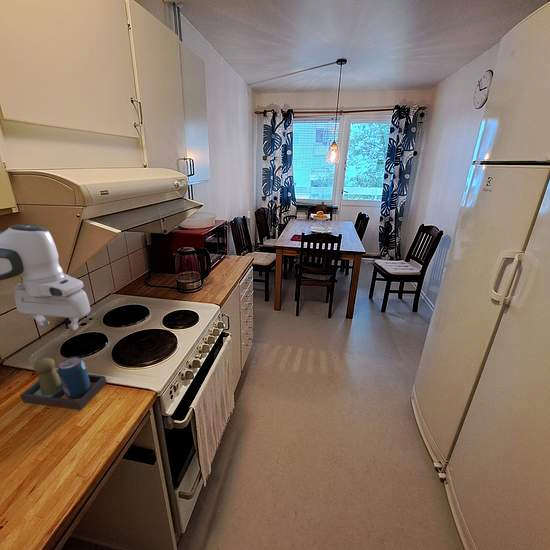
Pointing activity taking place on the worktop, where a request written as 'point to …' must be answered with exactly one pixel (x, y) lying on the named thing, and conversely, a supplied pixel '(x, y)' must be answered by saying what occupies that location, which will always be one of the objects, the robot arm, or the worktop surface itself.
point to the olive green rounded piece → (47, 376)
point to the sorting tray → (63, 395)
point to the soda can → (74, 377)
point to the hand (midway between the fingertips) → (59, 327)
